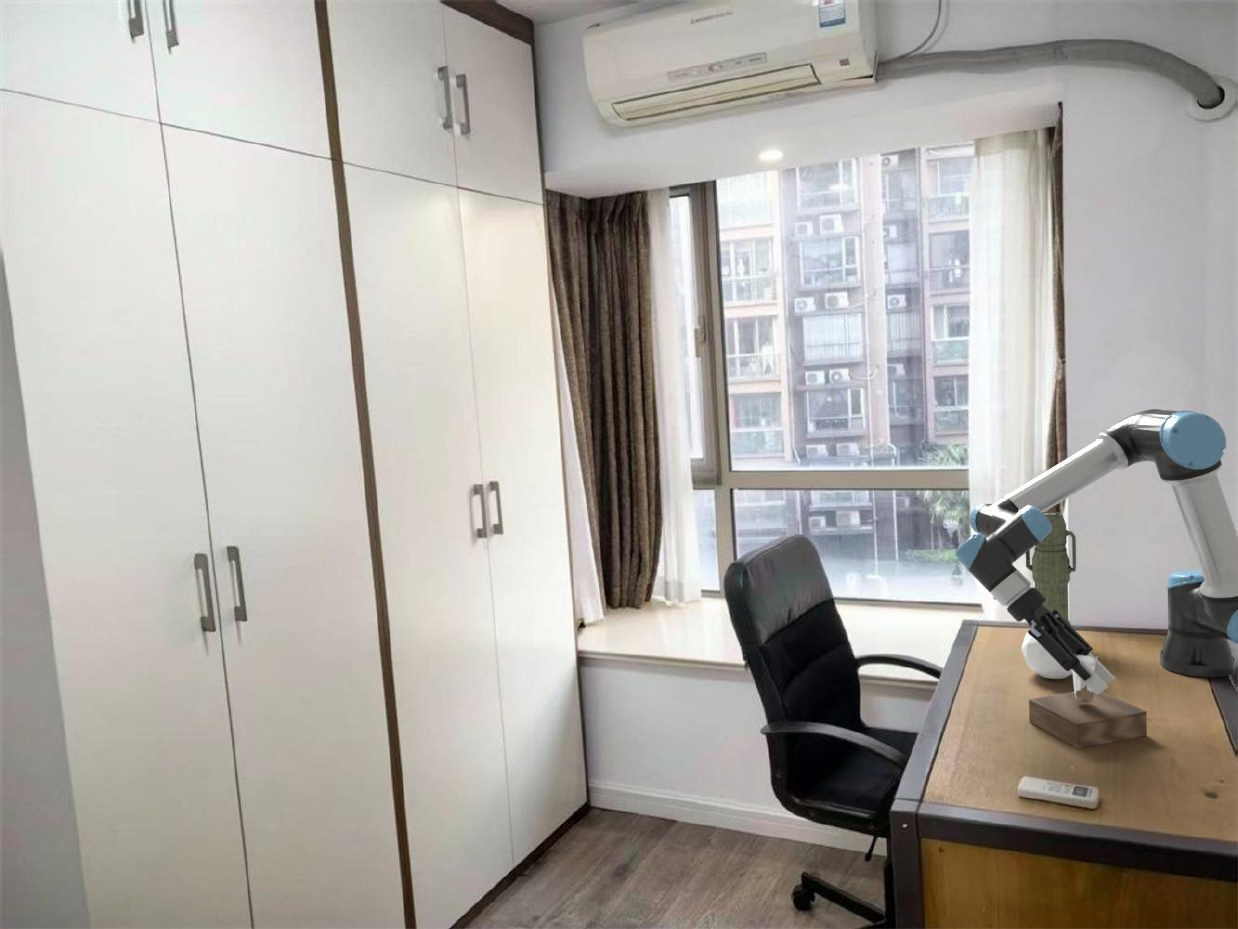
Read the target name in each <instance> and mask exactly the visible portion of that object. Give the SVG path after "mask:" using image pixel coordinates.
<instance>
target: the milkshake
mask: <svg viewBox="0 0 1238 929" xmlns="http://www.w3.org/2000/svg"><path fill="white" fill-rule="evenodd" d="M1077 658H1078V659H1079V660H1080V662H1081V661H1084V662H1085V663H1086V664H1087V665H1088V666H1089V667H1090V668H1091V669H1092V670H1093V671H1094V672H1095V669H1096V660H1098V658H1099V655H1098V656H1097V655H1096V656H1095V658H1096V659H1095V660H1094V659H1093V658H1091V657H1090V656H1085V655H1077ZM1072 683H1073V690H1074V691H1073V692H1074V694H1075V699H1076V700H1077V701H1080V702H1092V701H1093V695H1094V692H1093V691H1092V690H1091V689H1090V688H1089V686H1088V685H1087V684H1086V683H1085V682H1084V681H1083V680H1082V679H1081V678H1080V677H1079V676H1078V675H1077V674H1076V673H1075V672H1074V671H1073V670H1072Z"/></svg>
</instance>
